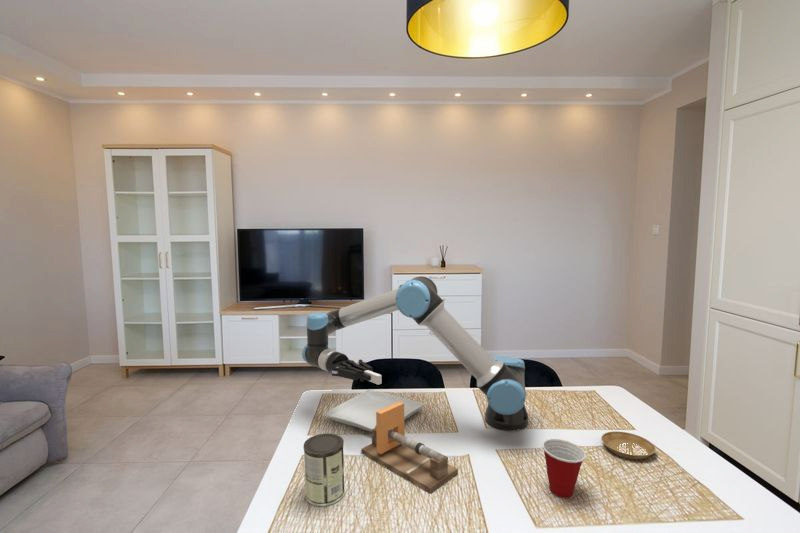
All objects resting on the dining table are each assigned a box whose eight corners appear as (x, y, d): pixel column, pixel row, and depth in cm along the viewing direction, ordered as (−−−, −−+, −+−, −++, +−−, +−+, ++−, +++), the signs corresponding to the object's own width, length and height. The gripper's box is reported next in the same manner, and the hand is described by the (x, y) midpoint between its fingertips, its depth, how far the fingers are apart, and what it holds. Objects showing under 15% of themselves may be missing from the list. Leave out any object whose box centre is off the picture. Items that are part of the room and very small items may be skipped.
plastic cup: (589, 507, 104) (591, 461, 102) (543, 501, 106) (545, 457, 105) (579, 481, 114) (581, 439, 113) (538, 476, 116) (539, 435, 115)
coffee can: (317, 478, 116) (316, 430, 115) (351, 486, 113) (350, 436, 111) (297, 501, 106) (295, 449, 105) (333, 510, 103) (331, 456, 102)
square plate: (425, 412, 158) (425, 402, 158) (384, 444, 135) (384, 432, 135) (368, 396, 172) (368, 387, 172) (322, 423, 150) (322, 412, 149)
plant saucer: (594, 451, 129) (594, 443, 129) (609, 434, 140) (609, 426, 140) (648, 470, 119) (648, 461, 119) (659, 449, 130) (660, 441, 130)
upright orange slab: (376, 451, 125) (376, 411, 124) (399, 439, 132) (399, 401, 131) (381, 454, 124) (380, 413, 122) (404, 441, 131) (404, 403, 130)
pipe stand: (361, 453, 129) (360, 428, 128) (389, 438, 137) (388, 415, 137) (430, 493, 109) (430, 464, 108) (457, 473, 118) (458, 447, 117)
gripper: (348, 368, 150) (394, 385, 134) (318, 377, 141) (363, 397, 125) (348, 347, 150) (394, 363, 133) (318, 355, 140) (363, 373, 124)
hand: (379, 379), depth 129 cm, fingers closed
